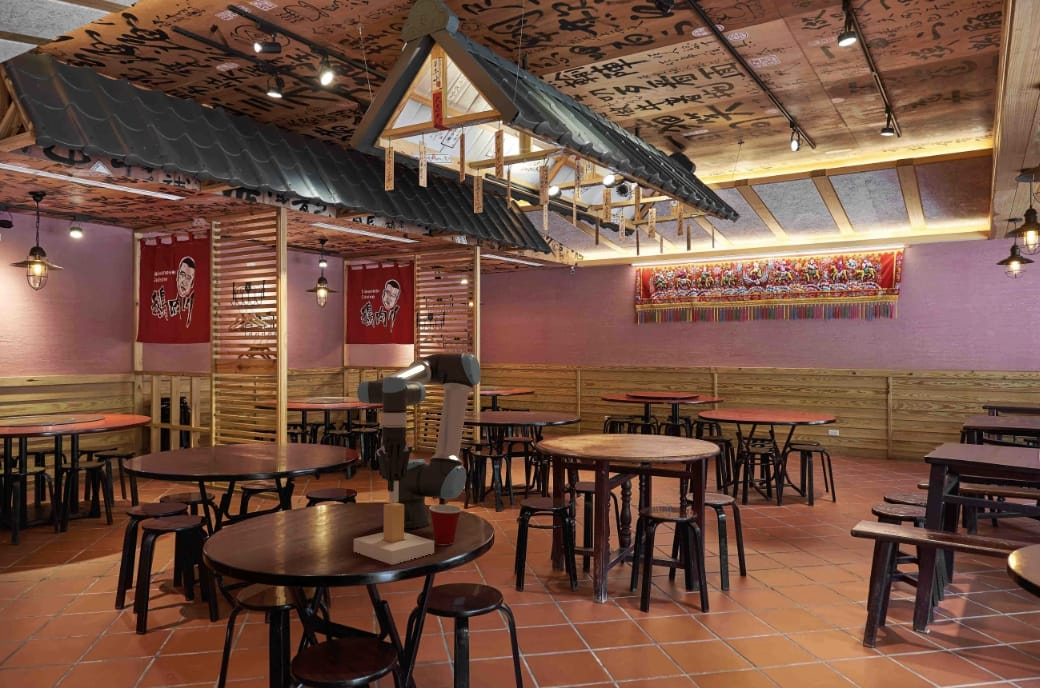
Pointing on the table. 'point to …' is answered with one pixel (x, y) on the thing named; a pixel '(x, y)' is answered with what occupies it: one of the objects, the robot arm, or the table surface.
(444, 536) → the plastic cup
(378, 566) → the table surface
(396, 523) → the plug block
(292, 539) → the table surface
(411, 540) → the socket plate
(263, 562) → the table surface
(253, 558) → the table surface
